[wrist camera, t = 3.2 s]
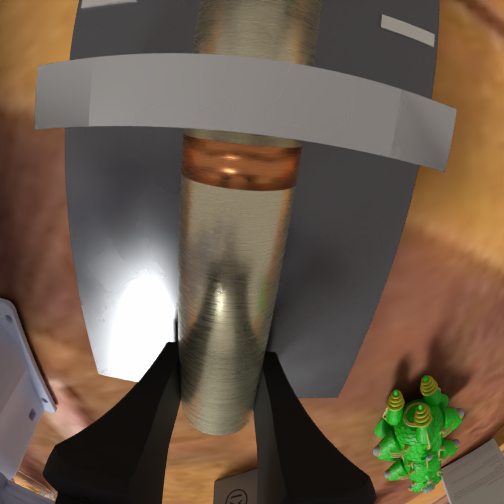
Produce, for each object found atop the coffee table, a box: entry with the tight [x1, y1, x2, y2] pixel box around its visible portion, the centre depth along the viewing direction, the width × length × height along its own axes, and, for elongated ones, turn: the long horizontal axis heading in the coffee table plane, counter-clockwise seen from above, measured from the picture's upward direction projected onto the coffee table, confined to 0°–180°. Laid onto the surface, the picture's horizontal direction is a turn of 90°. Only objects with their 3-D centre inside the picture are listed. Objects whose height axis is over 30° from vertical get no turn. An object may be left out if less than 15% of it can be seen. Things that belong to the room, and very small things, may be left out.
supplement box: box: [442, 438, 504, 504], centre depth 19 cm, size 7×7×13 cm
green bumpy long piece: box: [373, 375, 464, 493], centre depth 17 cm, size 7×18×4 cm, turn 26°
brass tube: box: [178, 0, 322, 435], centre depth 9 cm, size 16×3×3 cm, turn 173°
